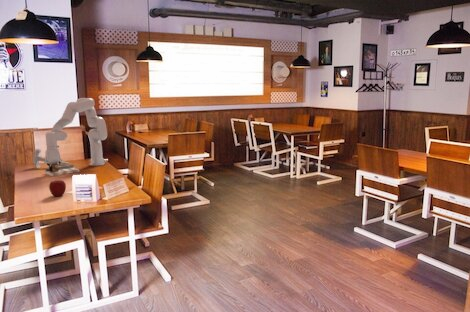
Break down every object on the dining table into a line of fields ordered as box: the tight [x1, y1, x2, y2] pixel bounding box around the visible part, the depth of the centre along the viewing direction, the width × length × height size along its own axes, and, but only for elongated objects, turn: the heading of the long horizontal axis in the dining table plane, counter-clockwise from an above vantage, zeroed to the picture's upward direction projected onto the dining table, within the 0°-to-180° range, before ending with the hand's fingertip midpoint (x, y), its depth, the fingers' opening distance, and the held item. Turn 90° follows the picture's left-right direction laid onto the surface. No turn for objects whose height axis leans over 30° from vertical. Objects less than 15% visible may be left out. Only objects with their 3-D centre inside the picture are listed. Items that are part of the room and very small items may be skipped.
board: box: [44, 167, 80, 177], centre depth 310 cm, size 22×12×2 cm, turn 136°
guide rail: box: [44, 164, 75, 172], centre depth 313 cm, size 22×1×2 cm, turn 136°
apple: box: [48, 180, 67, 197], centre depth 242 cm, size 10×10×10 cm
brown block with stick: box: [51, 163, 60, 172], centre depth 304 cm, size 4×10×6 cm, turn 46°
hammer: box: [32, 148, 70, 169], centre depth 330 cm, size 16×5×30 cm
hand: (54, 170), depth 306 cm, fingers closed on brown block with stick, 4 cm apart
